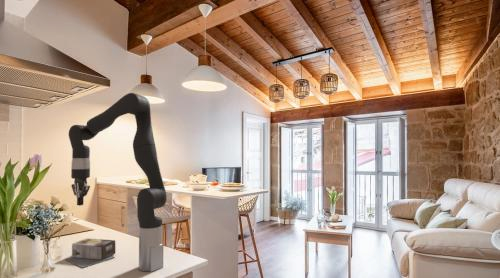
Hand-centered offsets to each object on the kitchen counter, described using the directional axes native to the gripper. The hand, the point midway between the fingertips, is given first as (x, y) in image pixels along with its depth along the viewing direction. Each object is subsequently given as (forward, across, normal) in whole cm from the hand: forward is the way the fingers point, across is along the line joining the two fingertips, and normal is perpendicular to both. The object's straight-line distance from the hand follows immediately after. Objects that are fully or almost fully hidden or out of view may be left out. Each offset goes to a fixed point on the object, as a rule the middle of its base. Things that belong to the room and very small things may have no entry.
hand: (80, 205), depth 137 cm
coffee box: (+20, +1, 0) cm, 20 cm away
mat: (+23, -8, -1) cm, 25 cm away
